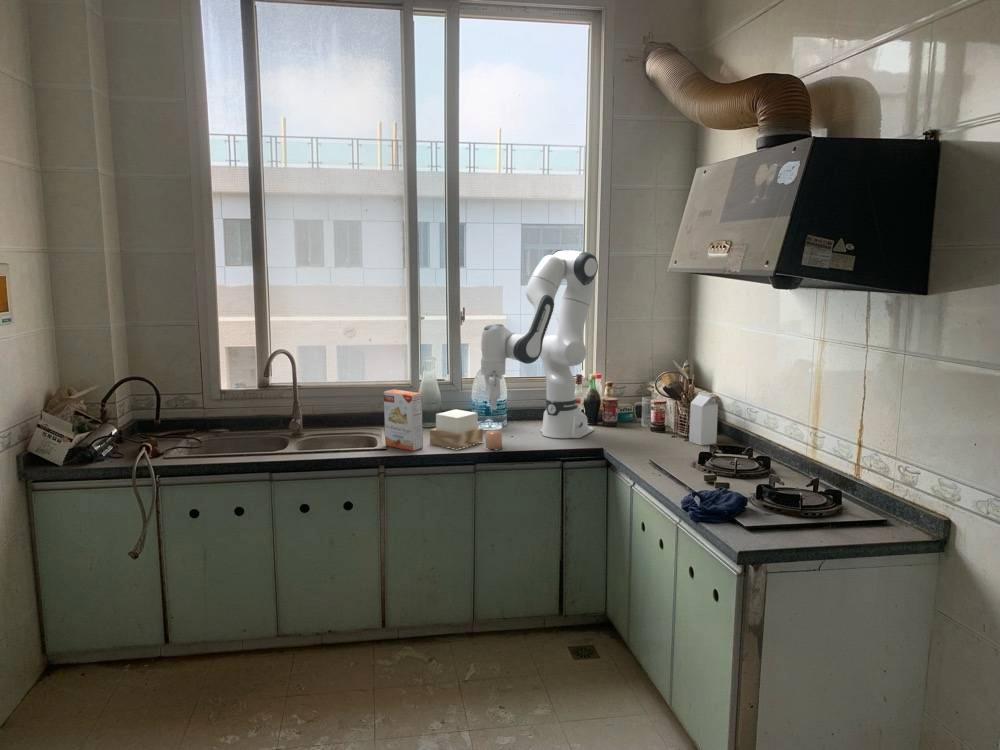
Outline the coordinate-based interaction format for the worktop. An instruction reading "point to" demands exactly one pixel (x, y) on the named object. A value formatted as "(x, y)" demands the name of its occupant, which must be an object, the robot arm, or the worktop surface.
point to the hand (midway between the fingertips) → (492, 407)
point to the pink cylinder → (493, 439)
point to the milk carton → (703, 420)
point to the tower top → (456, 421)
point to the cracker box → (403, 419)
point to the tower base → (456, 438)
